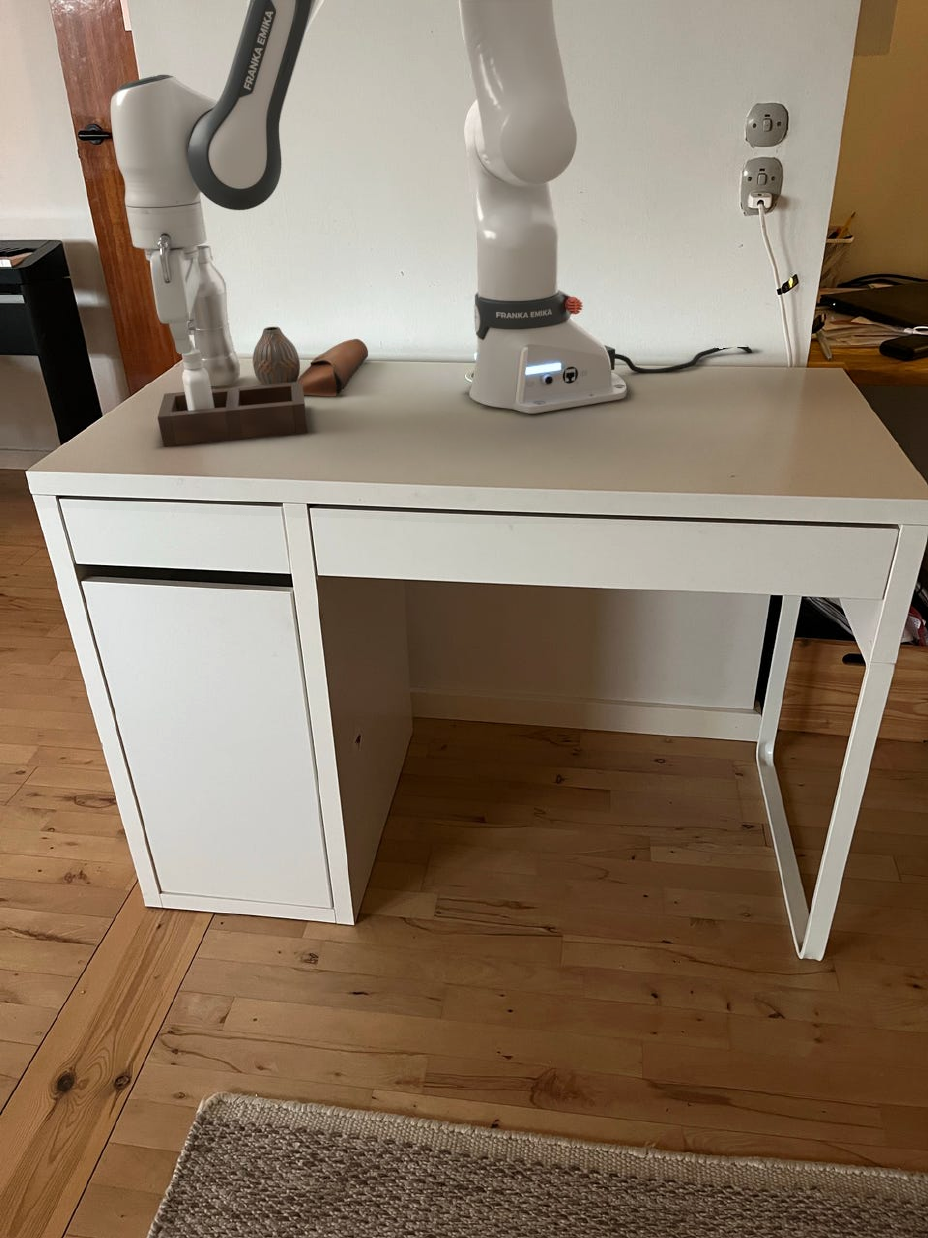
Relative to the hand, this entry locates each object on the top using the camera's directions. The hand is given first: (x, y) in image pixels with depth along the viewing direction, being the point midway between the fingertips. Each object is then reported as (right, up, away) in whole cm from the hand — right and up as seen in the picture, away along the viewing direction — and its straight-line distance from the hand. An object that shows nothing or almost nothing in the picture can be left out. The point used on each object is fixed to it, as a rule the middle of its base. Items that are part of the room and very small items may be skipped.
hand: (187, 342), depth 124 cm
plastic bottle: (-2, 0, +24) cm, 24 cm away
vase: (+8, -1, +22) cm, 23 cm away
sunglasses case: (+15, +1, +25) cm, 29 cm away
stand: (+5, -10, +7) cm, 13 cm away
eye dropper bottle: (+1, -10, +6) cm, 12 cm away
